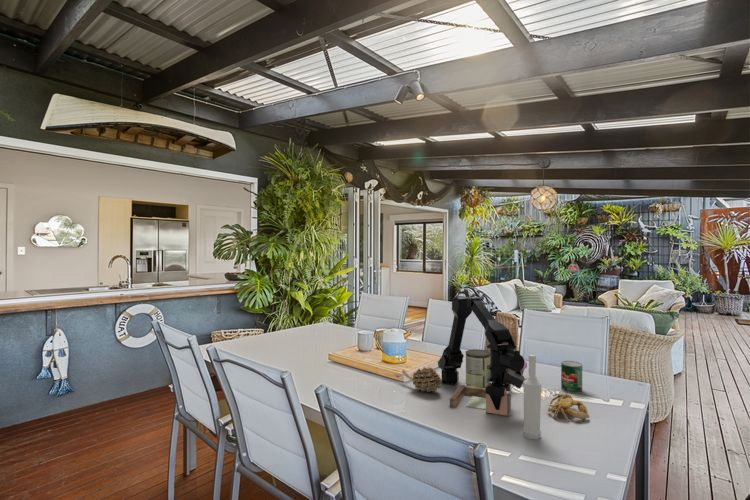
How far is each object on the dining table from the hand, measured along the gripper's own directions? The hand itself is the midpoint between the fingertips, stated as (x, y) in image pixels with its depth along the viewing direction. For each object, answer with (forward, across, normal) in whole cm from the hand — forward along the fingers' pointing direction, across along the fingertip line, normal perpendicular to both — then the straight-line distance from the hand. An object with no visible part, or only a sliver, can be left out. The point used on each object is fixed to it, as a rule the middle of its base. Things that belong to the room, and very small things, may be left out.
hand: (498, 407), depth 145 cm
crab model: (+2, +9, -22) cm, 24 cm away
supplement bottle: (+2, +25, +2) cm, 25 cm away
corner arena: (+2, +7, +9) cm, 11 cm away
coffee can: (+2, +26, +12) cm, 29 cm away
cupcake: (+2, +42, -2) cm, 42 cm away
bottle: (+2, -14, -12) cm, 19 cm away
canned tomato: (+2, +36, -24) cm, 43 cm away
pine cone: (+2, +11, +33) cm, 35 cm away
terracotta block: (+2, 0, 0) cm, 2 cm away
